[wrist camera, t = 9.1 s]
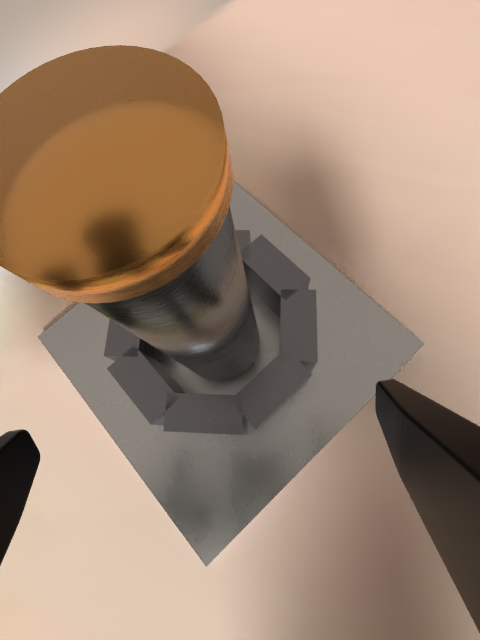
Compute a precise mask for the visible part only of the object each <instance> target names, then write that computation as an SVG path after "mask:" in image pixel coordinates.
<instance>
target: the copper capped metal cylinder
mask: <svg viewBox="0 0 480 640" xmlns="http://www.w3.org/2000/svg"><path fill="white" fill-rule="evenodd" d="M232 188H233V172H232V167H231V161H230V156H229V150H228V145H227V140H226V134H225V129H224V124H223V119H222V113H221V110H220V107H219V105H218V102H217V99H216V97H215V96H214V94H213V92H212V90H211V89H210V87H209V86H208V85H207V83H206V82H205V81H204V80H203V78H202V77H201V76H200V75H199V74H198V73H196V72H195V71H194V70H193V69H192V68H191V67H189V66H188V65H186V64H185V63H183V62H182V61H180V60H179V59H176V58H174V57H172V56H170V55H168V54H165V53H162V52H159V51H156V50H153V49H148V48H142V47H137V46H122V45H121V46H103V47H96V48H89V49H85V50H81V51H76V52H73V53H70V54H67V55H64V56H61V57H58V58H56V59H54V60H52V61H49V62H47V63H45V64H43V65H41V66H39V67H37V68H35V69H33V70H32V71H30V72H28V73H27V74H25V75H24V76H22V77H21V78H19V79H18V80H16V81H15V82H14V83H12V84H11V85H10V86H9V87H8V88H6V89H5V90H4V91H3V92H2V93H1V94H0V266H1V267H3V268H5V269H7V270H8V271H10V272H12V273H14V274H15V275H17V276H19V277H20V278H22V279H24V280H26V281H27V282H29V283H31V284H33V285H34V286H36V287H38V288H40V289H42V290H43V291H45V292H47V293H49V294H51V295H54V296H56V297H59V298H62V299H65V300H70V301H75V302H80V303H85V304H87V305H89V306H90V307H92V308H93V309H95V310H96V311H98V312H100V313H101V314H103V315H104V316H106V317H108V318H109V319H111V320H112V321H114V322H115V323H117V324H119V325H120V326H122V327H123V328H125V329H127V330H128V331H130V332H131V333H133V334H134V335H136V336H138V337H139V338H141V339H142V340H144V341H146V342H147V343H149V344H150V345H152V346H153V347H155V348H157V349H158V350H160V351H161V352H163V353H165V354H166V355H168V356H169V357H171V358H172V359H174V360H176V361H177V362H179V363H180V364H182V365H184V366H185V367H187V368H188V369H190V370H191V371H193V372H195V373H196V374H198V375H200V376H201V377H203V378H206V379H209V380H214V381H224V380H229V379H232V378H235V377H237V376H239V375H241V374H242V373H244V372H245V371H246V370H247V369H248V368H249V367H250V366H251V364H252V363H253V362H254V360H255V358H256V356H257V353H258V350H259V344H260V337H259V331H258V327H257V323H256V318H255V314H254V310H253V305H252V301H251V297H250V292H249V288H248V284H247V279H246V275H245V271H244V266H243V262H242V258H241V253H240V249H239V245H238V240H237V236H236V232H235V227H234V223H233V219H232V214H231V210H230V206H229V205H230V202H231V196H232Z"/></svg>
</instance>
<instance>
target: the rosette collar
mask: <svg viewBox="0 0 480 640" xmlns="http://www.w3.org/2000/svg"><path fill="white" fill-rule="evenodd" d="M229 206H230V210H231V214H232V219H233V223H234V227H235V232H236V236H237V240H238V245H239V249H240V253H241V258H242V262H243V266H244V271H245V275H246V279H247V284H248V288H249V292H250V297H251V301H252V305H253V310H254V314H255V318H256V323H257V327H258V331H259V337H260V344H259V350H258V353H257V356H256V358H255V360H254V362H253V363H252V364H251V366H250V367H249V368H248V369H247V370H246V371H245V372H244V373H242V374H241V375H239V376H237V377H235V378H232V379H229V380H224V381H214V380H209V379H206V378H203V377H201V376H200V375H198V374H196V373H195V372H193V371H191V370H190V369H188V368H187V367H185V366H184V365H182V364H180V363H179V362H177V361H176V360H174V359H172V358H171V357H169V356H168V355H166V354H165V353H163V352H161V351H160V350H158V349H157V348H155V347H153V346H152V345H150V344H149V343H147V342H146V341H144V340H142V339H141V338H139V337H138V336H136V335H134V334H133V333H131V332H130V331H128V330H127V329H125V328H123V327H122V326H120V325H119V324H117V323H115V322H114V321H112V320H111V319H109V318H108V317H106V316H104V315H103V314H101V313H100V312H98V311H96V310H95V309H93V308H92V307H90V306H89V305H87V304H85V303H80V302H79V303H78V304H77V305H76V306H74V307H73V308H72V309H71V310H70V311H68V312H67V313H66V314H65V315H64V316H62V317H61V318H60V319H59V320H57V321H56V322H55V323H54V324H53V325H51V326H50V327H49V328H48V329H47V330H45V331H44V332H43V333H42V334H40V335H39V336H38V338H39V339H40V341H41V342H42V343H43V345H44V346H45V347H46V349H47V350H48V351H49V353H50V354H51V356H52V357H53V358H54V360H55V361H56V362H57V364H58V365H59V366H60V368H61V369H62V371H63V372H64V373H65V375H66V376H67V377H68V379H69V380H70V381H71V383H72V384H73V386H74V387H75V388H76V390H77V391H78V392H79V394H80V395H81V396H82V398H83V399H84V401H85V402H86V403H87V405H88V406H89V407H90V409H91V410H92V411H93V413H94V414H95V416H96V417H97V418H98V420H99V421H100V422H101V424H102V425H103V426H104V428H105V429H106V431H107V432H108V433H109V435H110V436H111V437H112V439H113V440H114V441H115V443H116V444H117V446H118V447H119V448H120V450H121V451H122V452H123V454H124V455H125V457H126V458H127V459H128V461H129V462H130V463H131V465H132V466H133V467H134V469H135V470H136V472H137V473H138V474H139V476H140V477H141V478H142V480H143V481H144V482H145V484H146V485H147V487H148V488H149V489H150V491H151V492H152V493H153V495H154V496H155V497H156V499H157V500H158V502H159V503H160V504H161V506H162V507H163V508H164V510H165V511H166V512H167V514H168V515H169V517H170V518H171V519H172V521H173V522H174V523H175V525H176V526H177V527H178V529H179V530H180V532H181V533H182V534H183V536H184V537H185V538H186V540H187V541H188V542H189V544H190V545H191V547H192V548H193V549H194V551H195V552H196V553H197V555H198V556H199V557H200V559H201V560H202V562H203V563H204V564H205V566H207V565H208V564H209V563H210V562H211V561H212V560H213V559H214V558H215V557H216V556H217V555H218V554H219V553H220V552H221V551H222V550H223V549H224V548H225V547H226V546H227V545H228V544H229V543H230V542H231V541H232V540H233V539H234V538H235V537H236V536H237V535H238V534H239V533H240V532H241V531H242V530H243V529H244V528H245V527H246V526H247V525H248V524H249V522H250V521H251V520H252V519H253V518H254V517H255V516H256V515H257V514H258V513H259V512H260V511H261V510H262V509H263V508H264V507H265V506H266V505H267V504H268V503H269V502H270V501H271V500H272V499H273V498H274V497H275V496H276V495H277V494H278V493H279V492H280V491H281V490H282V489H283V488H284V487H285V486H286V485H287V484H288V483H289V482H290V481H291V480H292V479H293V478H294V477H295V476H296V475H297V474H298V472H299V471H300V470H301V469H302V468H303V467H304V466H305V465H306V464H307V463H308V462H309V461H310V460H311V459H312V458H313V457H314V456H315V455H316V454H317V453H318V452H319V451H320V450H321V449H322V448H323V447H324V446H325V445H326V444H327V443H328V442H329V441H330V440H331V439H332V438H333V437H334V436H335V435H336V434H337V433H338V432H339V431H340V430H341V429H342V428H343V427H344V426H345V425H346V423H347V422H348V421H349V420H350V419H351V418H352V417H353V416H354V415H355V414H356V413H357V412H358V411H359V410H360V409H361V408H362V407H363V406H364V405H365V404H366V403H367V402H368V401H369V400H370V399H371V398H372V397H373V396H374V395H375V394H376V383H377V382H378V381H381V380H389V379H391V378H392V377H393V376H394V375H395V373H396V372H397V371H398V370H399V369H400V368H401V367H402V366H403V365H404V364H405V363H406V362H407V361H408V360H409V359H410V358H411V357H412V356H413V355H414V354H415V353H416V352H417V351H418V350H419V349H420V348H421V347H422V346H423V345H424V343H423V342H421V341H420V340H419V339H418V338H417V337H416V336H414V335H413V334H412V333H411V332H410V331H409V330H407V329H406V328H405V327H404V326H403V325H402V324H400V323H399V322H398V321H397V320H396V319H395V318H393V317H392V316H391V315H390V314H389V313H387V312H386V311H385V310H384V309H383V308H382V307H380V306H379V305H378V304H377V303H376V302H375V301H373V300H372V299H371V298H370V297H369V296H368V295H366V294H365V293H364V292H363V291H362V290H361V289H359V288H358V287H357V286H356V285H355V284H354V283H352V282H351V281H350V280H349V279H348V278H347V277H345V276H344V275H343V274H342V273H341V272H340V271H338V270H337V269H336V268H335V267H334V266H333V265H331V264H330V263H329V262H328V261H327V260H325V259H324V258H323V257H322V256H321V255H320V254H318V253H317V252H316V251H315V250H314V249H313V248H311V247H310V246H309V245H308V244H307V243H306V242H304V241H303V240H302V239H301V238H300V237H299V236H297V235H296V234H295V233H294V232H293V231H292V230H290V229H289V228H288V227H287V226H286V225H285V224H283V223H282V222H281V221H280V220H279V219H278V218H276V217H275V216H274V215H273V214H272V213H271V212H269V211H268V210H267V209H266V208H265V207H264V206H262V205H261V204H260V203H259V202H258V201H256V200H255V199H254V198H253V197H252V196H251V195H249V194H248V193H247V192H246V191H245V190H244V189H242V188H241V187H240V186H239V185H238V184H237V183H235V182H234V181H233V188H232V196H231V202H230V205H229Z"/></svg>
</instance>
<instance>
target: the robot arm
mask: <svg viewBox="0 0 480 640" xmlns="http://www.w3.org/2000/svg"><path fill="white" fill-rule="evenodd" d="M376 414H377V417H378V420H379V423H380V425H381V428H382V431H383V433H384V436H385V439H386V441H387V444H388V447H389V449H390V452H391V455H392V457H393V460H394V463H395V465H396V468H397V470H398V473H399V475H400V477H401V479H402V481H403V483H404V485H405V487H406V489H407V491H408V493H409V495H410V497H411V499H412V501H413V503H414V505H415V507H416V509H417V511H418V513H419V515H420V517H421V519H422V521H423V523H424V525H425V527H426V529H427V531H428V533H429V534H430V536H431V538H432V540H433V542H434V544H435V546H436V548H437V550H438V552H439V554H440V556H441V558H442V560H443V562H444V564H445V566H446V568H447V570H448V572H449V574H450V576H451V578H452V580H453V582H454V584H455V585H456V587H457V589H458V591H459V593H460V595H461V597H462V599H463V601H464V603H465V605H466V607H467V609H468V611H469V613H470V615H471V617H472V619H473V621H474V623H475V625H476V627H477V629H478V631H479V633H480V426H478V425H476V424H474V423H473V422H471V421H469V420H467V419H465V418H464V417H462V416H460V415H458V414H456V413H454V412H453V411H451V410H449V409H447V408H445V407H444V406H442V405H440V404H438V403H436V402H435V401H433V400H431V399H429V398H427V397H426V396H424V395H422V394H420V393H418V392H417V391H415V390H413V389H411V388H409V387H408V386H406V385H404V384H402V383H400V382H399V381H397V380H395V379H389V380H381V381H378V382H377V383H376ZM39 462H40V452H39V450H38V448H37V446H36V445H35V443H34V441H33V439H32V437H31V435H30V434H29V432H28V431H26V430H15V431H9V432H7V433H5V434H4V435H2V436H1V437H0V565H1V563H2V561H3V558H4V556H5V554H6V552H7V549H8V547H9V545H10V542H11V540H12V538H13V535H14V533H15V531H16V529H17V526H18V524H19V521H20V519H21V516H22V513H23V510H24V507H25V504H26V501H27V498H28V495H29V492H30V489H31V486H32V483H33V480H34V477H35V474H36V471H37V468H38V465H39Z"/></svg>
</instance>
